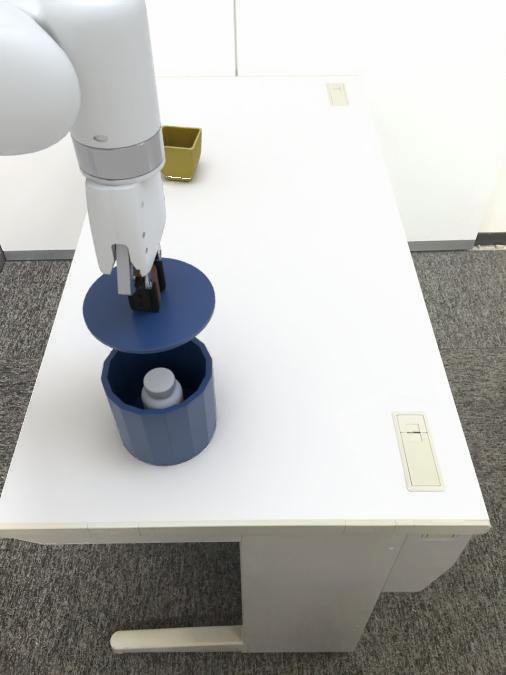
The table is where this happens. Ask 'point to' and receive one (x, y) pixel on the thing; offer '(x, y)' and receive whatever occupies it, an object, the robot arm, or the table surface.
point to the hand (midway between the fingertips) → (148, 297)
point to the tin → (170, 423)
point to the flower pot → (181, 151)
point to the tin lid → (151, 327)
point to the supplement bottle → (161, 389)
